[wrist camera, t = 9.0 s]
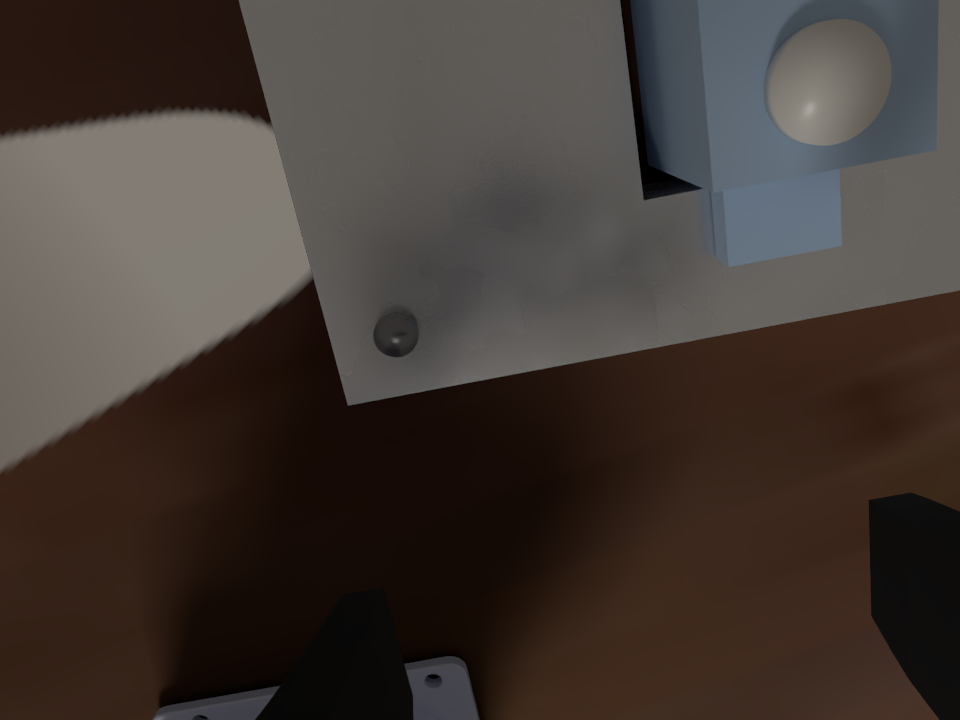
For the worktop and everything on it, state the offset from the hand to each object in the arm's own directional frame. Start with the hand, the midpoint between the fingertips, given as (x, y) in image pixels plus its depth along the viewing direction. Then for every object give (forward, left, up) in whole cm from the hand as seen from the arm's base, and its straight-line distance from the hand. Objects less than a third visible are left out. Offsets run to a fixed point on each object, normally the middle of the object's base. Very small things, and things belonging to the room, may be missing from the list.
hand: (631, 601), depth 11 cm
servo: (+5, +8, -10) cm, 13 cm away
